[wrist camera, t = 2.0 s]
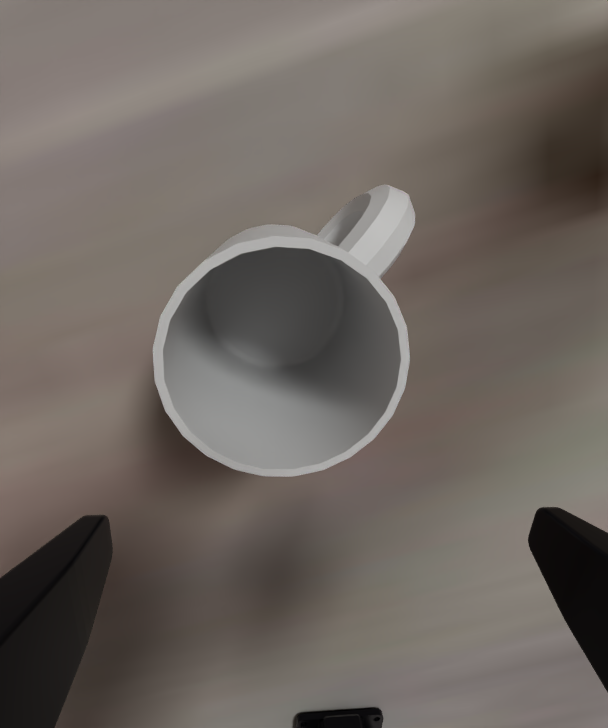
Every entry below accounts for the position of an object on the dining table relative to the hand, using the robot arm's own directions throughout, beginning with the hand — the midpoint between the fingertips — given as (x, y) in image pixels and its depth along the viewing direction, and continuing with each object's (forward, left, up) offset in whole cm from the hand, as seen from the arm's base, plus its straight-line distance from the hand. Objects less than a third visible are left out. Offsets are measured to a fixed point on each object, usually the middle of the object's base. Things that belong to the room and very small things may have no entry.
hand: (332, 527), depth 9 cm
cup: (+3, 0, -13) cm, 14 cm away
